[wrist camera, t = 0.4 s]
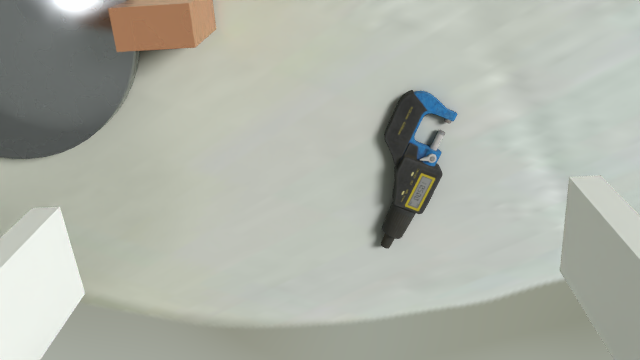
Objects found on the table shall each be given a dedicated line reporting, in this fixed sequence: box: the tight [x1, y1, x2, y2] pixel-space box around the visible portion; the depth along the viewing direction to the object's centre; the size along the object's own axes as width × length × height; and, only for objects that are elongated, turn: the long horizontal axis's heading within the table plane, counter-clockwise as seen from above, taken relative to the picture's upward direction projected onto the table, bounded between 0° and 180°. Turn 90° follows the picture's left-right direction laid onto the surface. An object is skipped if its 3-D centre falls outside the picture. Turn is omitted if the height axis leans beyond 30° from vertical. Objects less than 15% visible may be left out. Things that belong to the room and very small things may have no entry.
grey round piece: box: [0, 0, 216, 159], centre depth 36 cm, size 18×23×6 cm
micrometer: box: [381, 90, 457, 248], centre depth 43 cm, size 12×2×5 cm
